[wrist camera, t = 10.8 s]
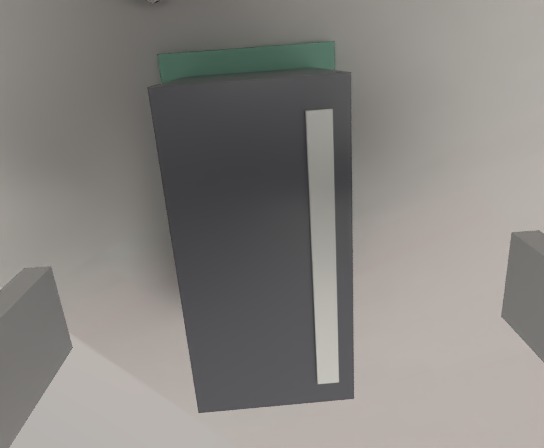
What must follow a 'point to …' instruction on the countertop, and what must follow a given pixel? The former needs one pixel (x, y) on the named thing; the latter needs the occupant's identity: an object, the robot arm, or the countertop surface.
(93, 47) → the countertop surface
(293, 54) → the board
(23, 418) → the robot arm
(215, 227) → the block
